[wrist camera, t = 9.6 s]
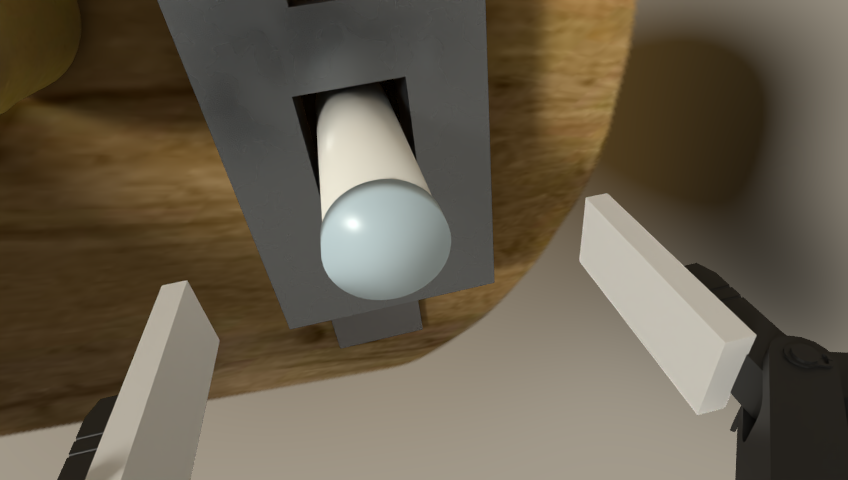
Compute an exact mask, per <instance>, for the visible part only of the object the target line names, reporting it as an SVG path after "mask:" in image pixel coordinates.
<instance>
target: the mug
mask: <svg viewBox="0 0 848 480" xmlns="http://www.w3.org/2000/svg"><path fill="white" fill-rule="evenodd" d="M81 27H82V22H81V16H80V10H79V6H78V3H77V0H0V114H2V113H4V112H6V111H7V110H8V109H10V108H11V107H12V106H13V105H14V104H16V103H17V102H18V101H20V100H22V99H24V98H26V97H28V96H30V95H31V94H33V93H35V92H36V91H39V90H41V89H43V88H45V87H46V86H48V85H50V84H51V83H53V82H55V81H56V80H57V79H59V78H60V77H61V76H62V75H63V74H64V73H65V72H66V71H67V69H68V68H69V66H70V65H71V63H72V62H73V60H74V58H75V56H76V53H77V51H78V46H79V42H80V37H81Z"/></svg>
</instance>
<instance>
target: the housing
mask: <svg viewBox="0 0 848 480" xmlns="http://www.w3.org/2000/svg"><path fill="white" fill-rule="evenodd" d="M157 1H158V3H159V6H160V8H161V11H162V13H163V16H164V18H165V21H166V23H167V26H168V28H169V31H170V33H171V36H172V38H173V41H174V43H175V45H176V48H177V50H178V53H179V55H180V58H181V60H182V63H183V65H184V68H185V70H186V73H187V75H188V78H189V80H190V83H191V85H192V88H193V90H194V93H195V95H196V98H197V100H198V103H199V105H200V107H201V110H202V112H203V115H204V117H205V120H206V122H207V125H208V127H209V130H210V132H211V135H212V137H213V140H214V142H215V145H216V147H217V150H218V152H219V155H220V157H221V160H222V162H223V165H224V167H225V170H226V172H227V174H228V177H229V179H230V182H231V184H232V187H233V189H234V192H235V194H236V197H237V199H238V202H239V204H240V207H241V209H242V212H243V214H244V217H245V219H246V222H247V224H248V227H249V229H250V232H251V234H252V236H253V239H254V241H255V244H256V246H257V249H258V251H259V254H260V256H261V259H262V261H263V264H264V266H265V269H266V271H267V274H268V276H269V279H270V281H271V284H272V286H273V289H274V291H275V294H276V296H277V299H278V301H279V303H280V306H281V308H282V311H283V313H284V316H285V318H286V321H287V323H288V326H289V328H290V329H294V328H299V327H303V326H307V325H312V324H316V323H320V322H325V321H329V320H333V319H338V318H342V317H347V316H351V315H355V314H360V313H364V312H368V311H373V310H377V309H382V308H386V307H390V306H395V305H399V304H403V303H408V302H412V301H416V300H421V299H425V298H430V297H434V296H438V295H443V294H447V293H451V292H456V291H460V290H465V289H469V288H473V287H478V286H482V285H486V284H491V283H494V256H493V225H492V193H491V162H490V130H489V99H488V68H487V36H486V5H485V0H157ZM389 79H395V86H396V92H397V99H398V106H399V113H400V119H401V126H402V131H403V133H404V135H405V137H406V139H407V142H408V144H409V146H410V148H411V151H412V153H413V155H414V157H415V159H416V162H417V164H418V166H419V168H420V170H421V173H422V175H423V177H424V179H425V182H426V184H427V186H428V188H429V190H430V193H431V195H432V197H433V198H434V199H435V200H436V202H437V203H438V205H439V207H440V208H441V210H442V213H443V215H444V217H445V219H446V221H447V223H448V226H449V229H450V234H451V248H450V253H449V256H448V259H447V261H446V263H445V265H444V267H443V268H442V270H441V271H440V272H439V274H438V275H437V276H436V277H435V278H434V279H433V280H432V281H431V282H430V283H428V284H427V285H426V286H424V287H423V288H421V289H420V290H418V291H416V292H414V293H411V294H409V295H406V296H403V297H400V298H395V299H390V300H370V299H364V298H360V297H357V296H354V295H351V294H349V293H347V292H345V291H344V290H342V289H341V288H339V287H338V286H337V285H336V284H335V283H334V282H333V281H332V280H331V279H330V278H329V276H328V275H327V273H326V271H325V269H324V266H323V263H322V259H321V242H320V231H321V225H322V211H321V194H320V178H319V161H318V158H317V154H316V150H315V147H314V143H313V139H312V135H311V132H310V128H309V124H308V121H307V117H306V113H305V109H304V106H303V102H302V98H301V95H305V94H311V93H317V92H322V91H328V90H333V89H339V88H344V87H350V86H356V85H361V84H367V83H372V82H378V81H384V80H389Z"/></svg>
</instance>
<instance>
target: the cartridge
mask: <svg viewBox="0 0 848 480" xmlns="http://www.w3.org/2000/svg"><path fill="white" fill-rule="evenodd" d="M315 111H316V128H317V145H318V161H319V178H320V194H321V211H322V225H321V231H320V242H321V259H322V263H323V266H324V269H325V271H326V273H327V275H328V276H329V278H330V279H331V280H332V281H333V282H334V283H335V284H336V285H337V286H338V287H339V288H341V289H342V290H344V291H345V292H347V293H349V294H351V295H354V296H357V297H360V298H364V299H370V300H390V299H395V298H400V297H403V296H406V295H409V294H411V293H414V292H416V291H418V290H420V289H421V288H423V287H424V286H426V285H427V284H428V283H430V282H431V281H432V280H433V279H434V278H435V277H436V276H437V275H438V274H439V272H440V271H441V270H442V268H443V267H444V265H445V263H446V261H447V259H448V256H449V253H450V248H451V234H450V229H449V226H448V223H447V221H446V219H445V217H444V215H443V213H442V210H441V208H440V207H439V205H438V203H437V202H436V200H435V199H434V198H433V197H432V195H431V193H430V190H429V188H428V186H427V184H426V182H425V179H424V177H423V175H422V173H421V170H420V168H419V166H418V164H417V162H416V159H415V157H414V155H413V153H412V151H411V148H410V146H409V144H408V142H407V139H406V137H405V135H404V133H403V131H402V128H401V126H400V124H399V122H398V119H397V117H396V115H395V113H394V111H393V108H392V106H391V104H390V102H389V99H388V97H387V95H386V93H385V91H384V89H383V87H382V86H381V85H380V83H379V82H372V83H367V84H361V85H356V86H350V87H344V88H339V89H333V90H328V91H322V92H318V93H317V96H316V101H315Z"/></svg>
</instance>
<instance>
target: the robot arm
mask: <svg viewBox="0 0 848 480" xmlns="http://www.w3.org/2000/svg"><path fill="white" fill-rule="evenodd" d="M579 262H580V263H581V264H582V265H583V267H584V268H585V269H586V271H587V272H588V273H589V275H590V276H591V277H592V279H593V280H594V281H595V282H596V284H597V285H598V286H599V288H600V289H601V290H602V292H603V293H604V294H605V295H606V297H607V298H608V299H609V301H610V302H611V303H612V304H613V306H614V307H615V308H616V310H617V311H618V312H619V314H620V315H621V316H622V318H623V319H624V320H625V322H626V323H627V324H628V325H629V327H630V328H631V329H632V331H633V332H634V333H635V334H636V336H637V337H638V338H639V340H640V341H641V342H642V344H643V345H644V346H645V347H646V349H647V350H648V351H649V353H650V354H651V355H652V357H653V358H654V359H655V361H656V362H657V363H658V364H659V366H660V367H661V368H662V370H663V371H664V372H665V374H666V375H667V376H668V377H669V379H670V380H671V381H672V383H673V384H674V385H675V387H676V388H677V389H678V390H679V392H680V393H681V394H682V395H683V397H684V398H685V400H686V401H687V402H688V404H689V405H690V406H691V407H692V409H693V410H694V411H695V412H696V414H697V415H699V414H704V413H707V412H711V411H715V410H719V409H722V408H725V406H726V404H727V402H728V399H729V397H730V395H731V394H732V395H733V396H734V397H735V398H736V399H737V400H738V402H739V403H740V404H741V407H740V409H739V411H738V413H737V415H736V417H735V419H734V422H733V424H732V426H731V429H730V430H731V431H733V432H735V431H736V429H737V427H738V430H737V454H736V455H737V457H736V480H848V353H841V352H840V353H839V352H838V353H837V352H829V351H828V350H827V349H825V348H823V347H822V346H820V345H819V344H817V343H815V342H813V341H810V340H807V339H805V338H802V337H795V336H787V335H785V334H784V333H783V332H782V331H780V330H779V329H778V328H777V327H776V326H775V325H774V324H773V323H771V322H770V321H769V320H768V319H767V318H766V317H765V316H764V315H762V314H761V313H760V312H759V311H758V310H757V309H756V308H754V307H753V306H752V305H751V304H750V303H749V302H748V301H747V300H746V299H744V298H741V296H740V294H739V293H738V292H737V291H736V290H734V289H733V288H732V287H731V288H730V287H729V284H728V283H727V282H726V281H724V280H723V279H722V278H721V277H720V276H719V275H718V274H717V273H715V272H713V271H711V270H709V269H707V268H705V267H704V266H701V265H699V264H697V263H695V264H691V265H686V266H683V265H682V264H681V263H680V262H679V261H678V260H677V259H676V258H675V257H674V256H673V255H672V254H671V253H670V252H669V251H668V250H666V249H665V248H664V247H663V246H662V245H661V244H660V243H659V242H658V241H657V240H656V239H655V238H654V237H653V236H652V235H651V234H650V233H649V232H648V231H646V230H645V229H644V228H643V227H642V226H641V225H640V224H639V223H638V222H637V221H636V220H635V219H634V218H633V217H632V216H631V215H630V214H629V213H628V212H626V211H625V210H624V209H623V208H622V207H621V206H620V205H619V204H618V203H617V202H616V201H615V200H614V199H613V198H612V197H611V196H610V195H609V194H608V193H606V194H601V195H596V196H591V197H586V200H585V211H584V221H583V229H582V239H581V249H580V258H579ZM219 341H220V340H219V338H218V336H217V335H216V333H215V331H214V329H213V327H212V325H211V323H210V322H209V320H208V318H207V316H206V314H205V312H204V310H203V309H202V307H201V305H200V303H199V301H198V299H197V297H196V296H195V294H194V292H193V290H192V288H191V286H190V284H189V283H188V281H187V280H186V281H181V282H176V283H171V284H167V285H162V286H161V289H160V292H159V294H158V297H157V299H156V302H155V304H154V307H153V309H152V312H151V314H150V317H149V319H148V322H147V324H146V327H145V329H144V332H143V334H142V337H141V340H140V342H139V345H138V347H137V350H136V352H135V355H134V357H133V360H132V362H131V365H130V367H129V370H128V372H127V375H126V377H125V380H124V383H123V385H122V388H121V390H120V393H119V395H116V396H112V397H108V398H103V399H100V400H99V402H98V403H97V404H96V405H95V406H94V408H93V409H92V410H91V411H90V412H89V414H88V415H87V416H86V417H85V419H84V421H83V423H82V425H81V428H80V430H79V432H78V434H77V437H76V442H74V443H73V446H72V448H71V450H70V453H69V458H67V459H66V461H65V464H64V466H63V468H62V470H61V473H60V475H59V477H58V479H57V480H190V479H191V474H192V469H193V465H194V460H195V455H196V450H197V446H198V441H199V436H200V431H201V427H202V422H203V417H204V412H205V408H206V403H207V398H208V393H209V389H210V384H211V379H212V374H213V370H214V365H215V360H216V355H217V351H218V346H219Z"/></svg>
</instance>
